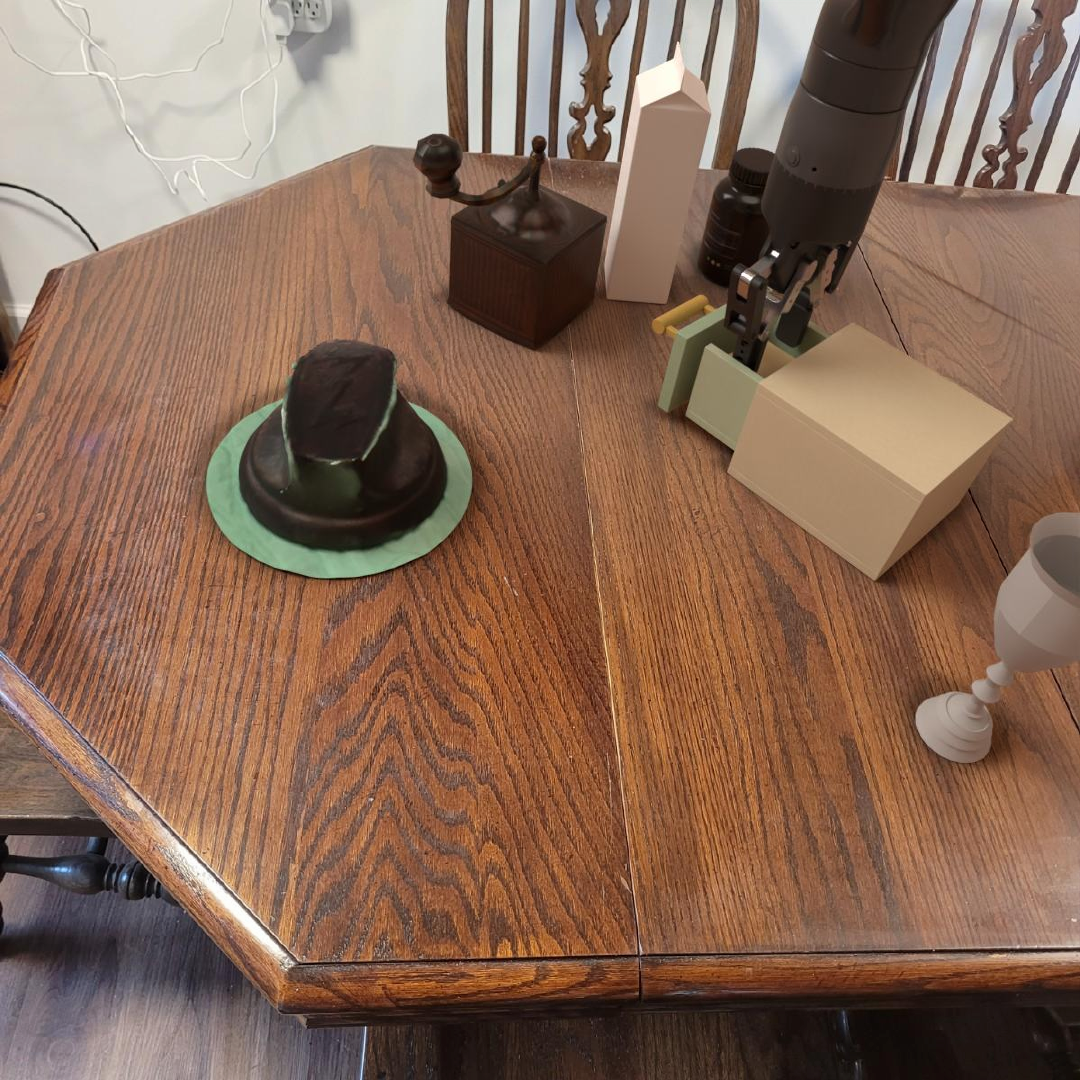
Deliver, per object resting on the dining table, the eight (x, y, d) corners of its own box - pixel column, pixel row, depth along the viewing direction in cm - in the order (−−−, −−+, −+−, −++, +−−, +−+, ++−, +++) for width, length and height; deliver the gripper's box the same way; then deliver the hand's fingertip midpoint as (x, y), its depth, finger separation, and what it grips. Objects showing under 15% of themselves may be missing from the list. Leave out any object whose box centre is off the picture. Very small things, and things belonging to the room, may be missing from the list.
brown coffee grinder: (504, 257, 94) (518, 74, 81) (596, 302, 91) (627, 118, 77) (403, 328, 85) (401, 136, 72) (502, 381, 82) (518, 189, 68)
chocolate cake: (499, 563, 67) (208, 604, 63) (457, 486, 84) (226, 515, 80) (483, 353, 62) (164, 384, 58) (442, 316, 79) (193, 338, 75)
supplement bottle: (722, 244, 100) (753, 134, 91) (774, 274, 97) (810, 164, 88) (681, 265, 96) (709, 154, 87) (733, 297, 94) (767, 185, 85)
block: (745, 377, 82) (759, 335, 79) (786, 405, 80) (803, 363, 77) (712, 398, 80) (725, 355, 77) (754, 428, 78) (770, 385, 75)
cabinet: (726, 472, 77) (758, 382, 70) (814, 410, 84) (852, 321, 76) (874, 581, 71) (926, 495, 64) (957, 505, 77) (1013, 418, 70)
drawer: (620, 379, 82) (636, 305, 76) (703, 331, 88) (724, 259, 82) (782, 496, 75) (813, 424, 69) (860, 436, 81) (896, 364, 75)
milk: (606, 300, 91) (645, 67, 75) (603, 264, 95) (640, 35, 79) (667, 305, 92) (721, 75, 75) (663, 269, 96) (712, 42, 79)
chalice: (893, 750, 62) (1028, 583, 48) (904, 670, 66) (1031, 495, 52) (1005, 792, 61) (1176, 632, 47) (1010, 708, 65) (1167, 539, 51)
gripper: (815, 213, 59) (747, 416, 71) (934, 149, 66) (852, 345, 78) (723, 163, 62) (673, 366, 75) (845, 107, 69) (781, 301, 82)
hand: (765, 354), depth 76 cm, fingers open, 5 cm apart
